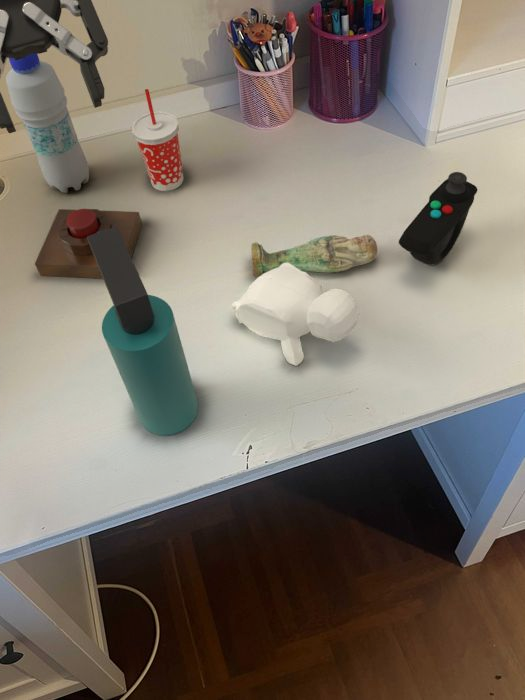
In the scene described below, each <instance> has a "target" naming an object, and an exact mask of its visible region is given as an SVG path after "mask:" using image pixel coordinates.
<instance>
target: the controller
mask: <svg viewBox="0 0 525 700" xmlns="http://www.w3.org/2000/svg"><path fill="white" fill-rule="evenodd" d="M467 180H468V177H467V175H466V174H465V173H463V172H461V171H454V172H451V173H450V174H449V175H448V177H447V178H446V179H445V180H444V181H443V182H442V183H441V184H440V185H438V186H437V188H436V189H435V190H433V191H432V192H431V194H430V195H429V198H428V201H427V203H426V204H425V205H424V207H423V208H422V209H420V212H419V213H418V214H417V215H416V216H415V217H414V219H413V220H412V221H411V223H409V225H408V226H407V227H406V228H405V230H404V231H403V232H402V234H401V235H400V238H399V239H398V245H399V246H400V247H401V248H402V249H404V250H406V251H407V252H409V253H410V255H411V256H412V258H413V259H415V260H416V261H418V262H420V263H422V264H425V265H427V266H437V265H438V264H440V263H441V262H442V261H443V260H445V259H446V257H447V256H448V255H449V253H450V252H451V250H452V249H453V247H454V246H455V244H456V243H457V241H458V238H459V236H460V235H461V232H462V231H463V228H464V225H465V223H466V220H467V217H468V214H469V212H470V209H471V207H472V205H473V203H474V202H475V201H474V200H475V196H476V194H477V193H478V187H477V186H476V185H475V184H473V183H472V182H470V181H467Z"/></svg>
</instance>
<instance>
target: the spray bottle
mask: <svg viewBox="0 0 525 700" xmlns="http://www.w3.org/2000/svg"><path fill="white" fill-rule="evenodd" d="M87 239H88V242H89V244H90V247H91V250H92V252H93V255H94V257H95V260H96V262H97V265H98V267H99V270H100V272H101V275H102V277H103V282H104V284H105V287H106V289H107V292H108V294H109V296H110V299H111V301H112V304H113V305H111V307H110V308H109V309H108V310H107V311H106V313H105V315H104V317H103V319H102V322H101V332H102V336H103V338H104V340H105V342H106V345H107V348H108V349H109V351H110V355H111V356H112V359H113V361H114V364H115V366H116V368H117V370H118V374H119V375H120V378H121V380H122V382H123V384H124V387H125V390H126V392H127V394H128V396H129V398H130V399H129V400H130V401H131V403H132V405H133V408H134V410H135V413H136V415H137V417H138V419H139V421H140V424H141V425H142V427H143V428H144V429H145V430H146V431H148V432H150V433H151V434H154V435H157V436H173V435H176V434H179V433H181V432H183V431H185V430H186V429H187V428H188V427H190V426H191V424H192V423H194V421H195V419H196V417H197V415H198V411H199V403H198V397H197V395H196V390H195V387H194V384H193V380H192V377H191V373H190V370H189V365H188V362H187V358H186V355H185V351H184V348H183V344H182V341H181V337H180V332H179V330H178V325H177V322H176V319H175V316H174V315H175V314H174V311H173V309H172V308H171V305H170V304H169V303H168V302H167V301H165V300H164V299H163V298H160V297H158V296H156V295H153V294H148V292H147V289H146V288H145V284H144V283H143V281H142V279H141V276H140V274H139V271H138V270H137V268H136V265H135V263H134V260H133V259H132V257H131V256H130V254H129V252H128V250H127V248H126V245H125V243H124V241H123V239H122V237H121V234H120V232H119V230H118V228H117V227H113V228H110V229H107V230H100V231H98V232H97V233H96V234H93V235H90V236H87Z"/></svg>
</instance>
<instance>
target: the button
mask: <svg viewBox="0 0 525 700" xmlns="http://www.w3.org/2000/svg"><path fill="white" fill-rule="evenodd" d="M89 209H90V208H79V209H75V210H76V211H74V212H72V213H71V214H70V215H69V216H68V218H67V225H68V227H69V230H70V232H71V234H72V236H74V237H75V238H80V239H84V238H87V236H90V235H93V234H95V233H96V232H97V231H98V229H99V224H98V221H97V218H96V215H95V213H94V212H93V211H92V210H89Z"/></svg>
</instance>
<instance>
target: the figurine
mask: <svg viewBox="0 0 525 700" xmlns="http://www.w3.org/2000/svg"><path fill="white" fill-rule="evenodd" d="M250 247H251V248H250V249H251V261H252V262H251V263H252V272H253V273H252V274H253V276H255V277H259V276H261V275H262V274H264V273H266V272H268V271H270V270H273V269H275V268H279V266H280V265H282V264H283V263H290V264H291V265H293V266H294V267H296V268H298V269H299V270H301V271H302V272H314V273H315V272H317V273H329V274H330V273H340V272H345V271H347V270H350V269H351V268H353V267H357V266H362V265H366V264H369V263H371V262H372V261H374V260H375V258H376V257H377V255H378V245H377V241H376V240H375V238H374V237H372V236H371V235H369V234H364V235H361V236H355V237H352V238H348V237H346V236H344V235H343V236H342V235H336V234H335V235H334V234H333V235H332V234H331V235H325V236H319V237H316V238H313V239H312V240H309V241H308V242H305V243H302V244H299V245H297V246H293V247H292V248H288V249H285V250H279V251H275V252H271V253H269V252H267V251H266V250H265V248H264V247H263V245H262V244H260V243H259V242H258V241H256V242H252V243H251V246H250Z"/></svg>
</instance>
